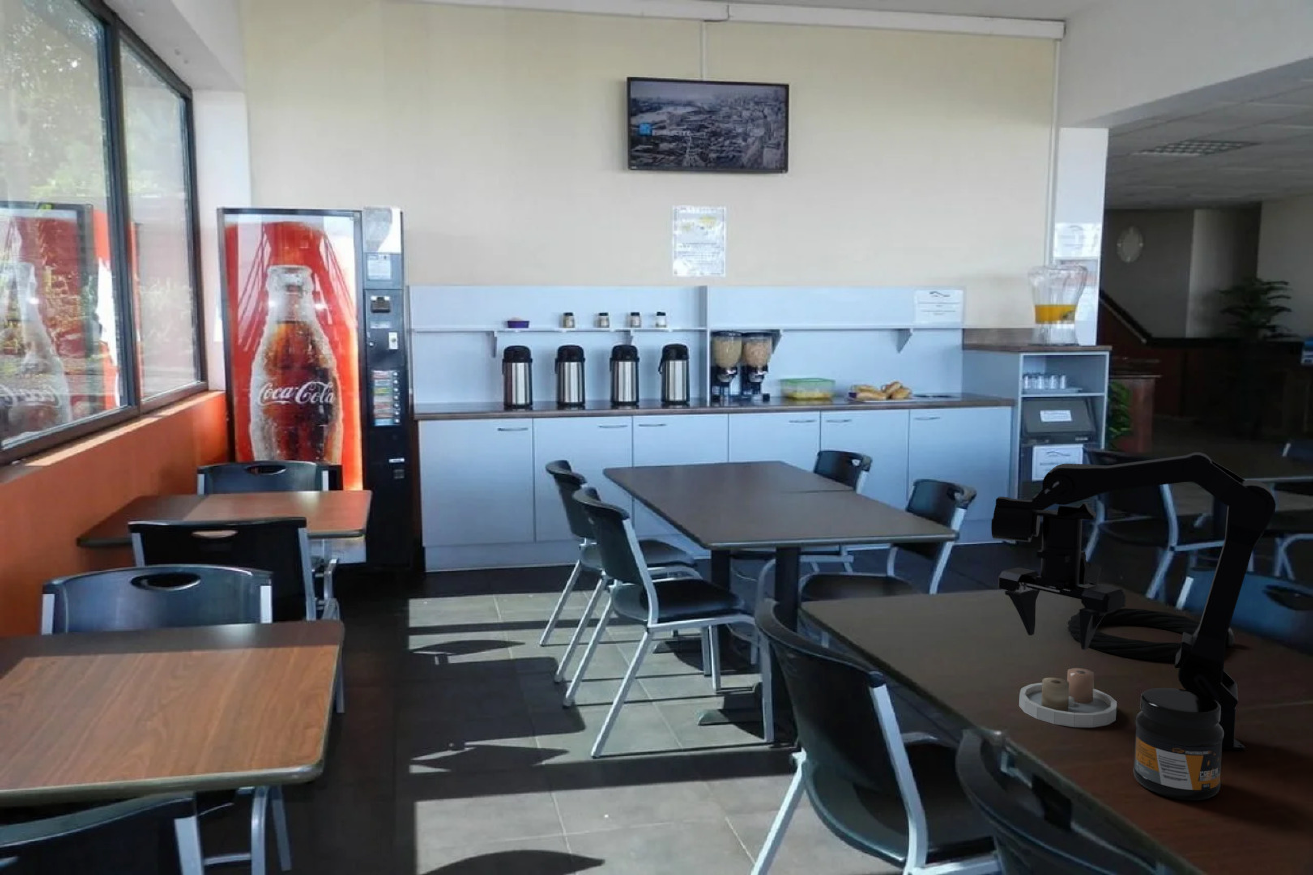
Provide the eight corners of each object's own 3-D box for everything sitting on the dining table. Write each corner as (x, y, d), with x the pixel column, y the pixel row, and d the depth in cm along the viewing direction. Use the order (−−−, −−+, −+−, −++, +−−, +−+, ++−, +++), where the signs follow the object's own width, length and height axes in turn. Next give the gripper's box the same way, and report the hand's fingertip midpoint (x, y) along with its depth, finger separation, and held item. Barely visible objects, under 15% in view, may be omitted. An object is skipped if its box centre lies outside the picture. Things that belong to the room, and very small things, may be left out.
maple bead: (1073, 710, 161) (1074, 682, 160) (1059, 716, 158) (1060, 687, 158) (1050, 702, 164) (1051, 675, 163) (1036, 708, 162) (1037, 680, 161)
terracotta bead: (1097, 699, 165) (1099, 672, 165) (1084, 705, 163) (1085, 677, 162) (1074, 692, 168) (1076, 666, 168) (1061, 698, 166) (1062, 671, 166)
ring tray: (1131, 728, 156) (1131, 715, 156) (1036, 726, 157) (1036, 714, 157) (1095, 694, 170) (1096, 683, 170) (1008, 693, 171) (1009, 681, 171)
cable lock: (1055, 602, 216) (1208, 609, 210) (1055, 619, 216) (1207, 627, 210) (1083, 640, 189) (1259, 650, 183) (1082, 660, 189) (1258, 670, 183)
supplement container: (1170, 807, 130) (1175, 717, 129) (1115, 773, 140) (1119, 689, 139) (1239, 798, 133) (1244, 710, 131) (1180, 765, 143) (1184, 683, 142)
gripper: (1146, 548, 156) (1141, 647, 158) (1036, 529, 171) (1033, 619, 172) (1108, 558, 149) (1103, 661, 151) (997, 537, 164) (994, 631, 166)
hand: (1057, 641), depth 160 cm, fingers open, 9 cm apart
